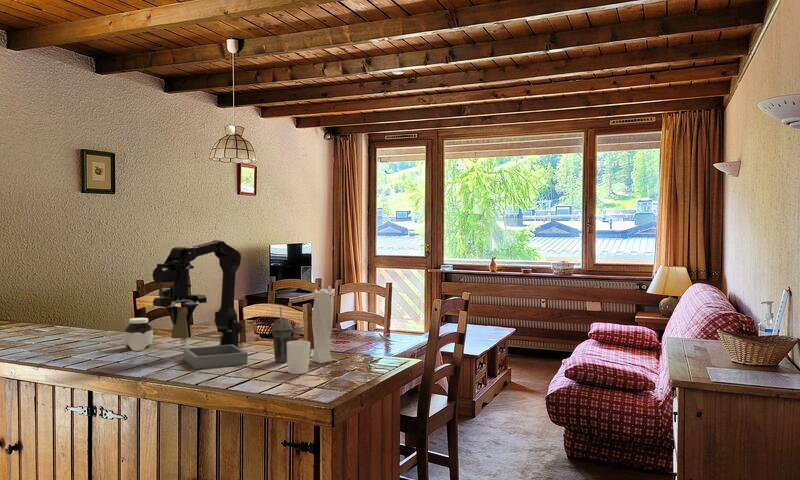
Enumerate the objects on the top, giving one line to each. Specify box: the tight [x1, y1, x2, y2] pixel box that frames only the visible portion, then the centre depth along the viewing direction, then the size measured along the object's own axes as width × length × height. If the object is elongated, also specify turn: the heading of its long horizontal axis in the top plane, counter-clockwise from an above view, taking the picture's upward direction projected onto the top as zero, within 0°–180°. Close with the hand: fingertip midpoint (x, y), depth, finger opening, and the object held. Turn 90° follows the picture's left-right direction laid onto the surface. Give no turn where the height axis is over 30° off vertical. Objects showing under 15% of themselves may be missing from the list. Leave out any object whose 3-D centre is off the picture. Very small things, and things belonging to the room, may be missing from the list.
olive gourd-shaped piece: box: [171, 306, 190, 339], centre depth 212 cm, size 6×6×11 cm
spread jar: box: [123, 317, 154, 352], centre depth 229 cm, size 12×11×12 cm
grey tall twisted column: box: [309, 285, 334, 365], centre depth 211 cm, size 8×8×28 cm
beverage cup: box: [271, 306, 293, 364], centre depth 210 cm, size 7×7×20 cm
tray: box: [183, 345, 248, 370], centre depth 208 cm, size 18×18×4 cm
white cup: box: [286, 339, 311, 375], centre depth 194 cm, size 8×8×10 cm
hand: (180, 323), depth 212 cm, fingers closed on olive gourd-shaped piece, 4 cm apart
